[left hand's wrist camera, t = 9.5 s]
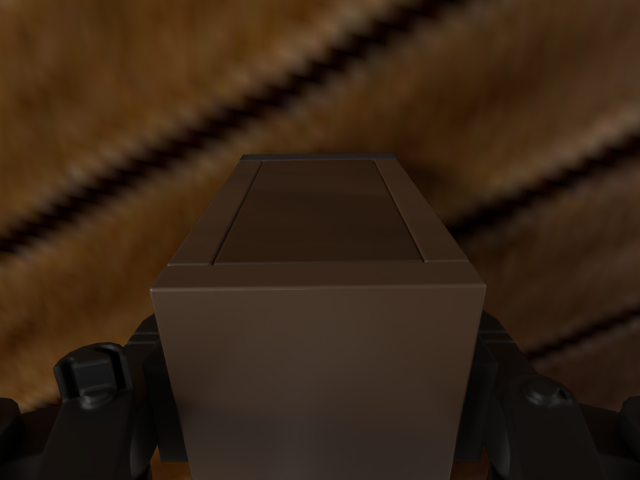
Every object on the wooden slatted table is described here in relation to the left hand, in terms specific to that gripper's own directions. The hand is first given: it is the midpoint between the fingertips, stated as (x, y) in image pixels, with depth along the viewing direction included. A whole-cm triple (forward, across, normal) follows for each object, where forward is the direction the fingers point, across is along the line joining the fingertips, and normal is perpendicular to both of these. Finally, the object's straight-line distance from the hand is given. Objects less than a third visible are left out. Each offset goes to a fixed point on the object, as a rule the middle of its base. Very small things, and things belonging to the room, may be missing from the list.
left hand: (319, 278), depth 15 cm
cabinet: (+3, 0, -7) cm, 7 cm away
